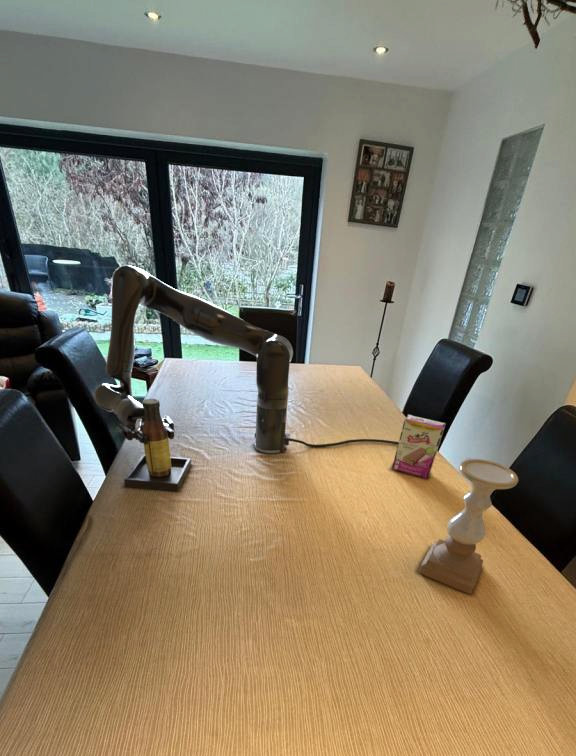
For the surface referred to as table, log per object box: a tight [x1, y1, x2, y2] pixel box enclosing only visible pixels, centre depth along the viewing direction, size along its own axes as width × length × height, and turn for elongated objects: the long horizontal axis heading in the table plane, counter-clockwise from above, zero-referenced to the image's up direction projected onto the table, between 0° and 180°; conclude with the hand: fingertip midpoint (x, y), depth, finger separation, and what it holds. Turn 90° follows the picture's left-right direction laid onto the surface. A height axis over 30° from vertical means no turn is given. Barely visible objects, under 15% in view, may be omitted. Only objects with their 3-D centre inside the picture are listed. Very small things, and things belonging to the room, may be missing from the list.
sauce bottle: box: [141, 398, 172, 477], centre depth 106 cm, size 6×6×20 cm
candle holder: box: [418, 458, 519, 595], centre depth 82 cm, size 11×11×24 cm
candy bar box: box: [391, 414, 447, 480], centre depth 122 cm, size 11×5×16 cm, turn 65°
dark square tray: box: [123, 453, 192, 492], centre depth 112 cm, size 14×15×2 cm
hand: (159, 438), depth 104 cm, fingers closed on sauce bottle, 6 cm apart
